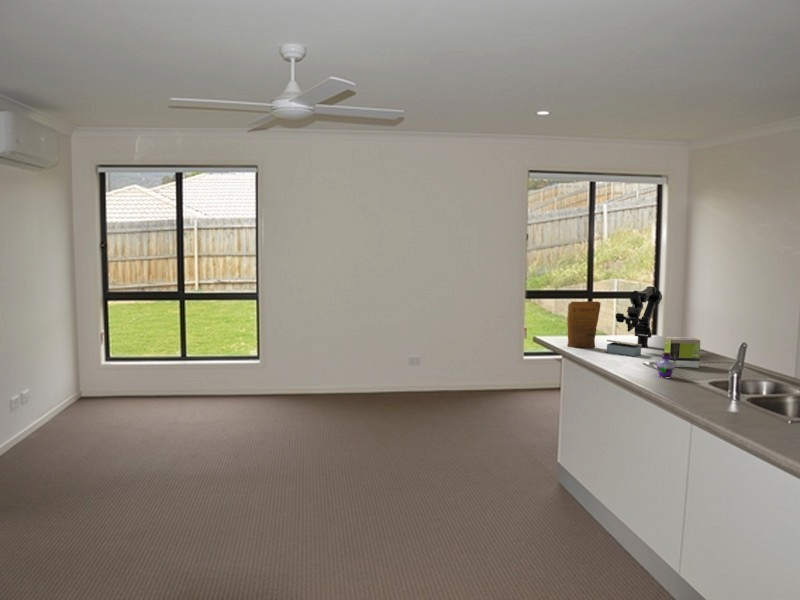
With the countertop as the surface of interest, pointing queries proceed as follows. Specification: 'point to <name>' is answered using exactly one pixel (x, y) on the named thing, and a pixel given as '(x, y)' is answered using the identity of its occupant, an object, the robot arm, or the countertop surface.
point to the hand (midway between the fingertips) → (628, 331)
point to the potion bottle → (665, 365)
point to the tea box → (683, 351)
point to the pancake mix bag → (582, 323)
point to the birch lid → (624, 342)
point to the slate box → (624, 349)
